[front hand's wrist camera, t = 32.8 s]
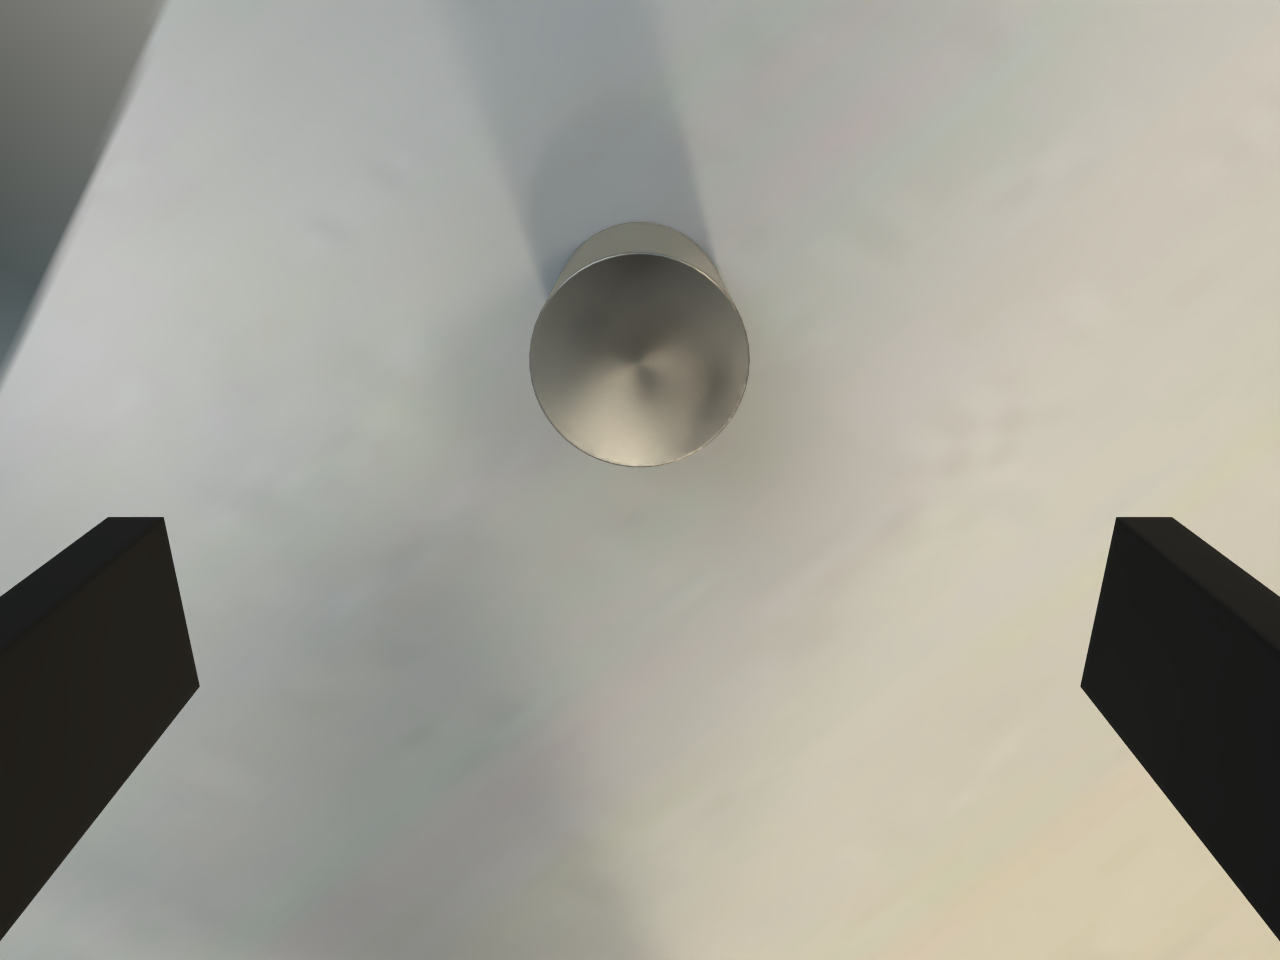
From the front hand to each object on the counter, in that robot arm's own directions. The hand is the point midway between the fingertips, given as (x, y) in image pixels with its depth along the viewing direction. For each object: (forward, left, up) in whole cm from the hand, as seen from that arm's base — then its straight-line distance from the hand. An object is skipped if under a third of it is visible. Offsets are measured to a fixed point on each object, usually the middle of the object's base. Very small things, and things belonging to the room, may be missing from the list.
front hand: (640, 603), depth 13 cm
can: (0, 0, -21) cm, 21 cm away
